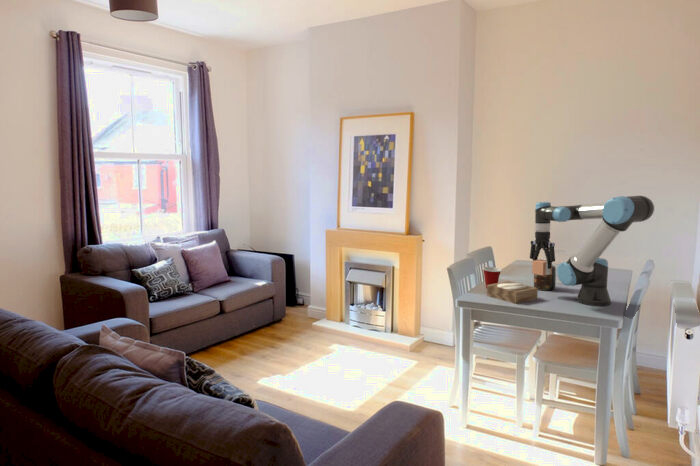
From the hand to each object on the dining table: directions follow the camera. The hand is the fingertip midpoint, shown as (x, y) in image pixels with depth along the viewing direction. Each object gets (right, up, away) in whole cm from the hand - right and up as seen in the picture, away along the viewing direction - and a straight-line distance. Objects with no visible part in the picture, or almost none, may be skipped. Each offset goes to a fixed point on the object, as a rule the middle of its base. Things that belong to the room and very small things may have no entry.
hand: (541, 273), depth 264 cm
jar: (+8, -10, +16) cm, 21 cm away
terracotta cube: (0, 0, 0) cm, 0 cm away
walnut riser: (-17, -13, -1) cm, 21 cm away
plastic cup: (-21, -11, +19) cm, 31 cm away
